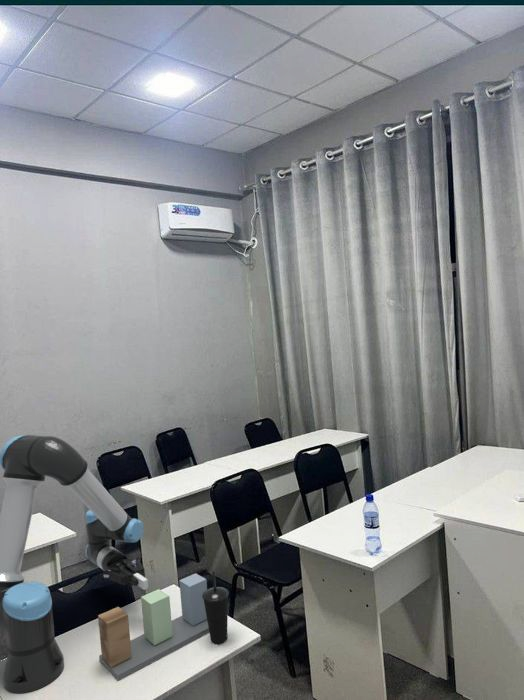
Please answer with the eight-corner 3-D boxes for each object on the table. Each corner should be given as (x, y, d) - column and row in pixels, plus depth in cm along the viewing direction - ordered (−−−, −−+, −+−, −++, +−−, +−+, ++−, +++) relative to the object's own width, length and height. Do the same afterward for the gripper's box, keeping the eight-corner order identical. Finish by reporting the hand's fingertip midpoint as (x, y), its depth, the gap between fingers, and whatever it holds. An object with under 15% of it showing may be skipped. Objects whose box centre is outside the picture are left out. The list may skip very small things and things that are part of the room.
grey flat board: (99, 660, 145) (99, 655, 145) (195, 613, 165) (195, 609, 165) (118, 680, 135) (117, 675, 135) (217, 628, 156) (217, 623, 156)
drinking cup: (220, 650, 145) (214, 580, 144) (200, 642, 150) (194, 574, 149) (237, 636, 151) (232, 569, 150) (218, 628, 156) (212, 563, 155)
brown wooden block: (101, 657, 143) (97, 615, 143) (122, 647, 147) (118, 606, 146) (111, 667, 138) (107, 623, 138) (131, 656, 142) (127, 614, 142)
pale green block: (144, 636, 151) (140, 596, 151) (162, 628, 155) (159, 589, 155) (154, 645, 147) (150, 604, 146) (172, 636, 151) (169, 595, 150)
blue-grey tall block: (182, 618, 160) (179, 580, 159) (198, 610, 164) (195, 573, 163) (193, 625, 155) (189, 586, 155) (209, 617, 159) (206, 579, 159)
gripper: (131, 565, 178) (165, 588, 160) (94, 579, 170) (127, 605, 152) (129, 543, 178) (163, 564, 160) (92, 557, 170) (124, 581, 152)
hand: (145, 584), depth 156 cm, fingers closed
